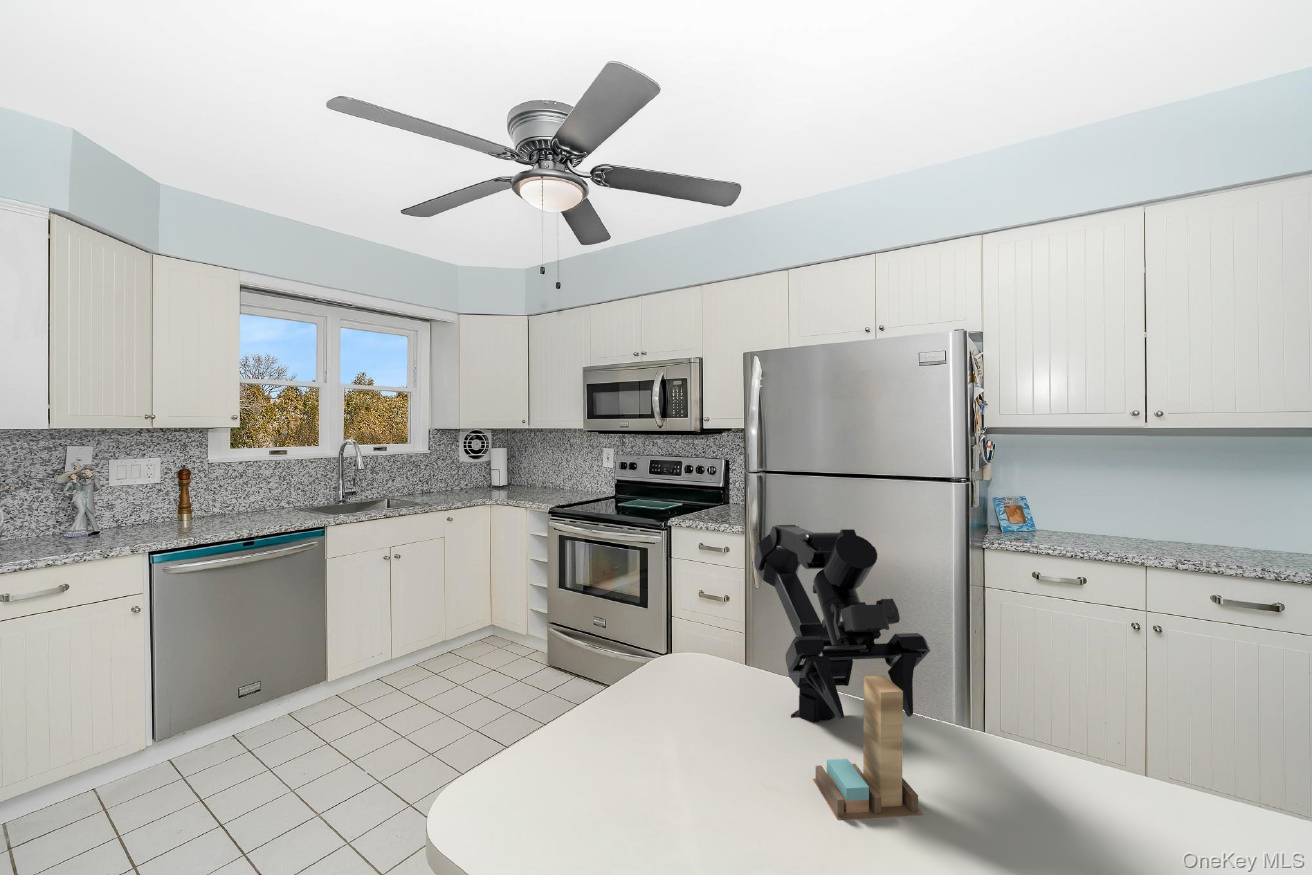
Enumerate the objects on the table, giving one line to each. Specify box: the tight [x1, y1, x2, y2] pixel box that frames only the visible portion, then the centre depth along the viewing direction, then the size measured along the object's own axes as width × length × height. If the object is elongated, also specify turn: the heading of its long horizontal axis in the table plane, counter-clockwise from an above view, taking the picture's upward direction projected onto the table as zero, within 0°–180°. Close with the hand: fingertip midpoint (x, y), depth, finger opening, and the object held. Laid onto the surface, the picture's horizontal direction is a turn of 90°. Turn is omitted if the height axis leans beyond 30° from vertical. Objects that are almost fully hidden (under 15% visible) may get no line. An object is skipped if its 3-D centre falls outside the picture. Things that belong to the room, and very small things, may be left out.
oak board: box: [862, 675, 904, 807], centre depth 72 cm, size 4×3×14 cm, turn 5°
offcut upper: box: [826, 758, 869, 801], centre depth 71 cm, size 6×3×2 cm, turn 5°
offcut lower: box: [826, 771, 869, 813], centre depth 71 cm, size 6×3×2 cm, turn 5°
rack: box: [812, 763, 924, 821], centre depth 71 cm, size 8×11×3 cm
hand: (876, 717), depth 73 cm, fingers open, 9 cm apart
